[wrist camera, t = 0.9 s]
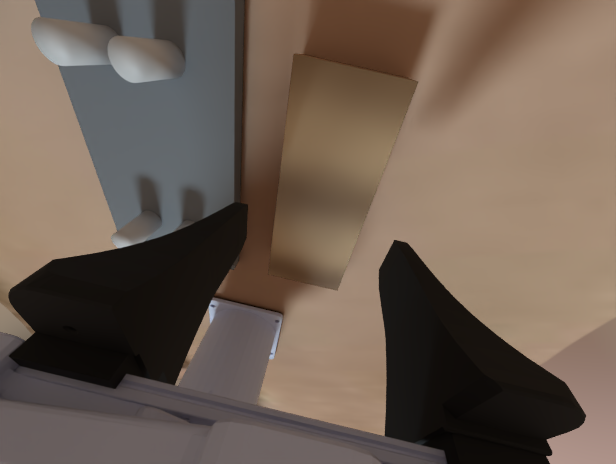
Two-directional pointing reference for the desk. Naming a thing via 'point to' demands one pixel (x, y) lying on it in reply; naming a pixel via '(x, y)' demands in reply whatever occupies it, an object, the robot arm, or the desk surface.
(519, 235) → the desk surface
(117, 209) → the peg stand
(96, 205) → the desk surface
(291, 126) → the shelf board
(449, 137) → the desk surface
